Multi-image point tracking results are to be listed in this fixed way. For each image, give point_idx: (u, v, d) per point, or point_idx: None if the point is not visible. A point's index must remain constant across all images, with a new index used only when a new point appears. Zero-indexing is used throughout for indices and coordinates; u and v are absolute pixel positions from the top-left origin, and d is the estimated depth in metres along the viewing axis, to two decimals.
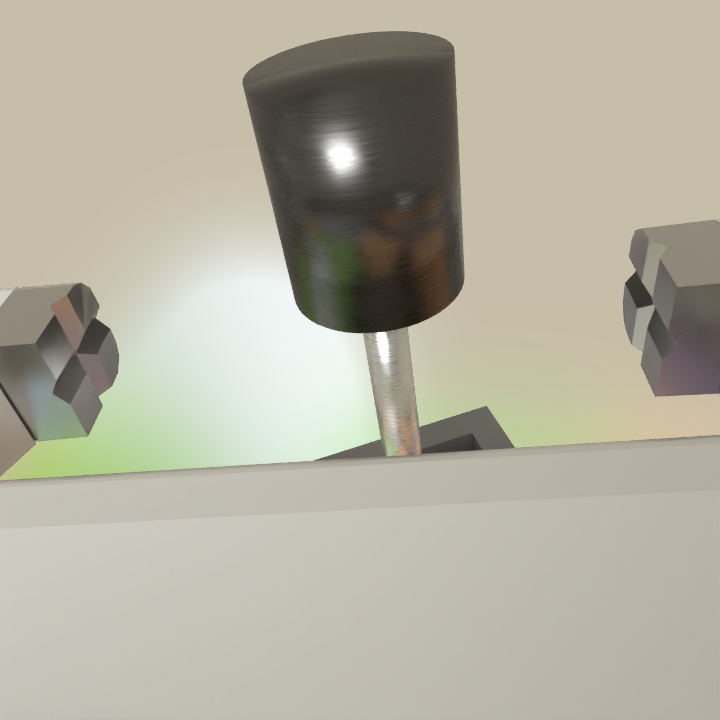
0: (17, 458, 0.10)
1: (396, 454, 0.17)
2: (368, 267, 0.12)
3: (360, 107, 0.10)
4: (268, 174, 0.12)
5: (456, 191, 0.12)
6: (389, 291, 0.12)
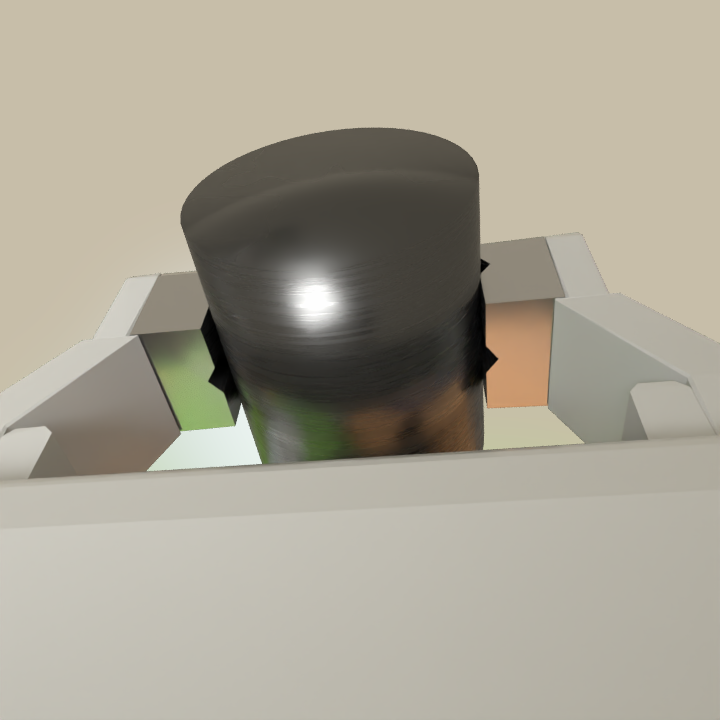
0: (165, 448, 0.09)
1: None
2: None
3: (343, 277, 0.07)
4: (219, 333, 0.08)
5: (477, 351, 0.09)
6: None
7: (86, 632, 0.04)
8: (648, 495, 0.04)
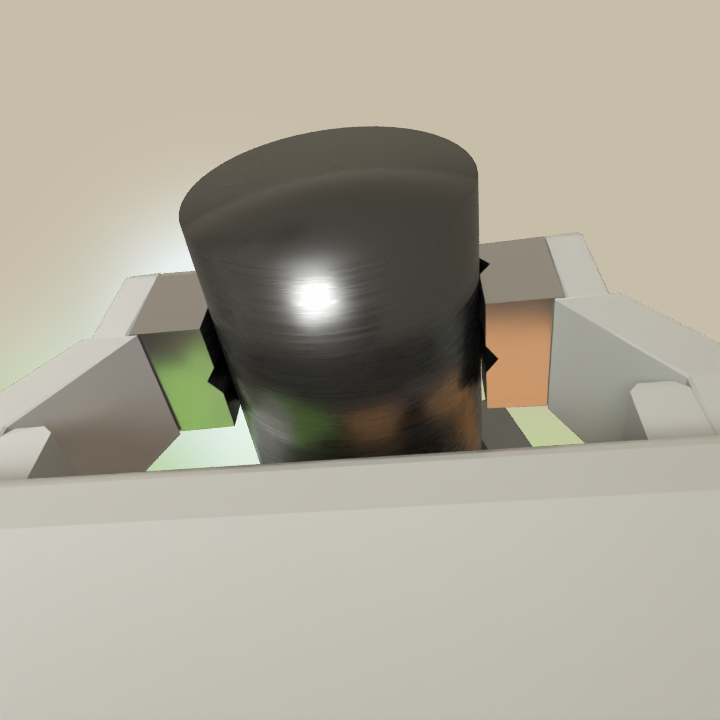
0: (164, 448, 0.09)
1: None
2: None
3: (342, 275, 0.07)
4: (217, 332, 0.08)
5: (476, 350, 0.09)
6: None
7: (86, 632, 0.04)
8: (648, 495, 0.04)
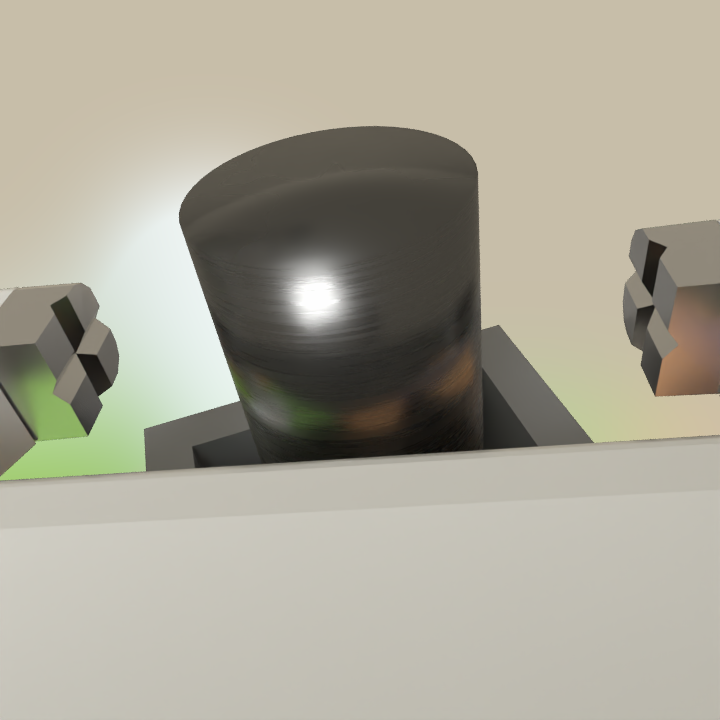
0: (17, 458, 0.10)
1: None
2: None
3: (342, 275, 0.07)
4: (218, 332, 0.08)
5: (476, 350, 0.09)
6: None
7: (86, 631, 0.04)
8: (648, 495, 0.04)
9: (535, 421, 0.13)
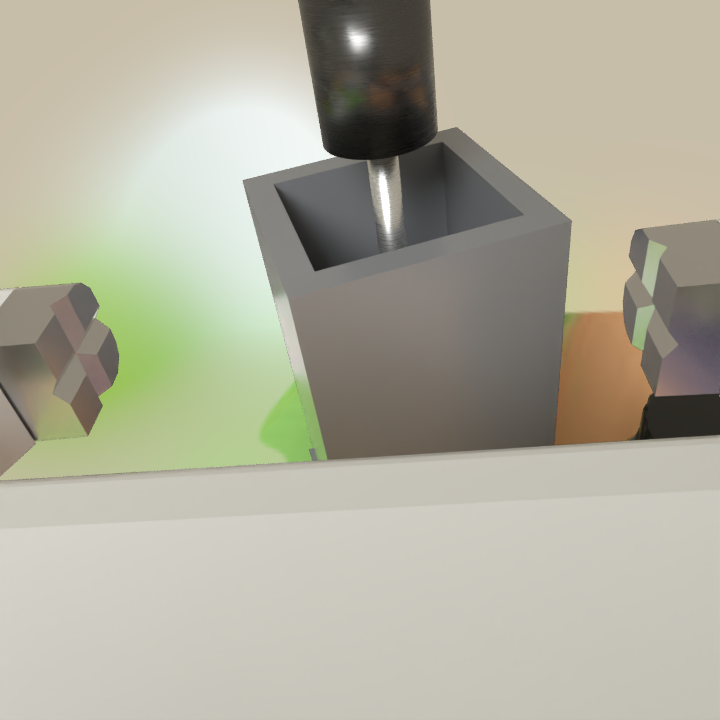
0: (17, 458, 0.10)
1: None
2: (374, 109, 0.18)
3: None
4: (311, 49, 0.18)
5: (430, 63, 0.19)
6: (387, 127, 0.19)
7: (86, 632, 0.04)
8: (648, 495, 0.04)
9: (473, 160, 0.23)
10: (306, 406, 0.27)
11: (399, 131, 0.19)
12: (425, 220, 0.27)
